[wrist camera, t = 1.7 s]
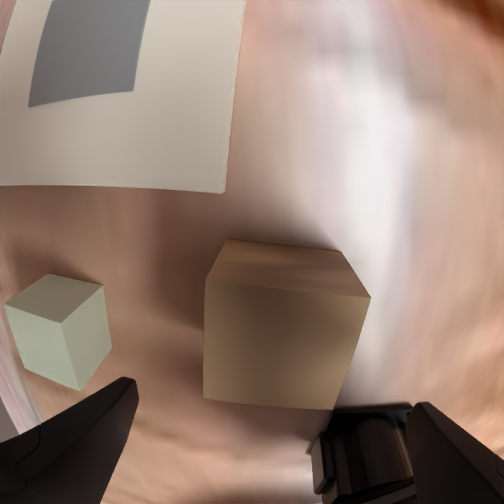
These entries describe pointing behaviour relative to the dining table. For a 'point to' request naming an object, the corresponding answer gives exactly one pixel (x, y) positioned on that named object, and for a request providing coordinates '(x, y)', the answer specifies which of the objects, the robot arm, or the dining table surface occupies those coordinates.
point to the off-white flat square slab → (119, 93)
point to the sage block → (61, 328)
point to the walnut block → (280, 325)
